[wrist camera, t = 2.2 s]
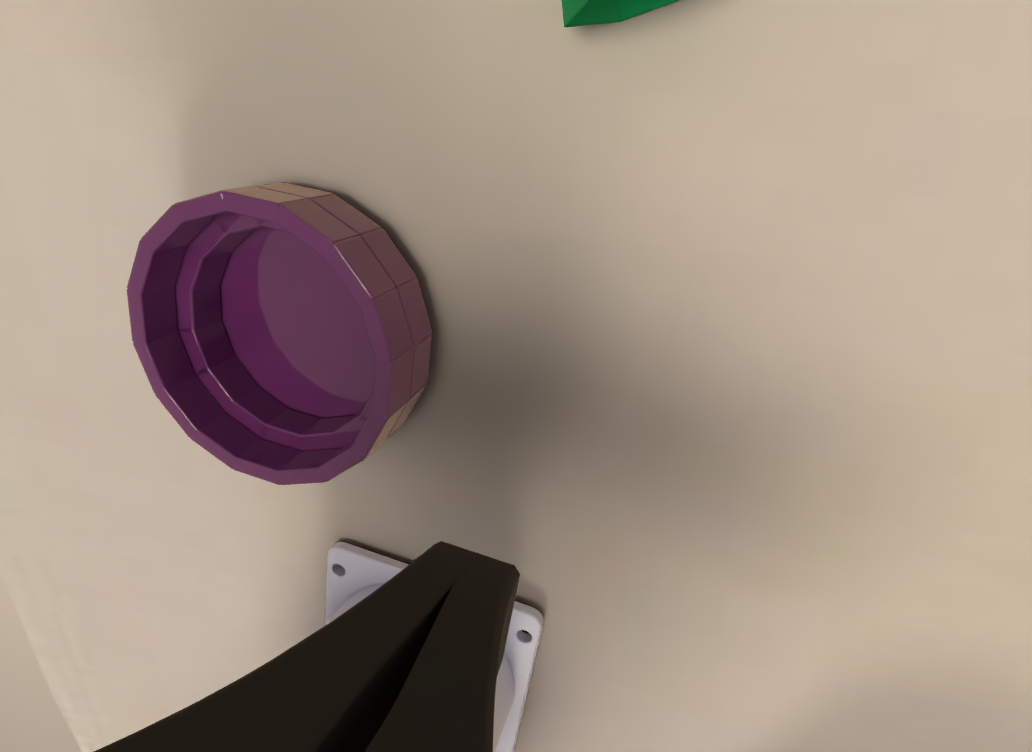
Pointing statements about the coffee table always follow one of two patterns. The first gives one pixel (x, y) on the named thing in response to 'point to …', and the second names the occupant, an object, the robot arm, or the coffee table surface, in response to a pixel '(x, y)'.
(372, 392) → the dish plum
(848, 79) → the coffee table surface
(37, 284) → the coffee table surface
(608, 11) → the candy
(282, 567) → the coffee table surface
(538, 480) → the coffee table surface
